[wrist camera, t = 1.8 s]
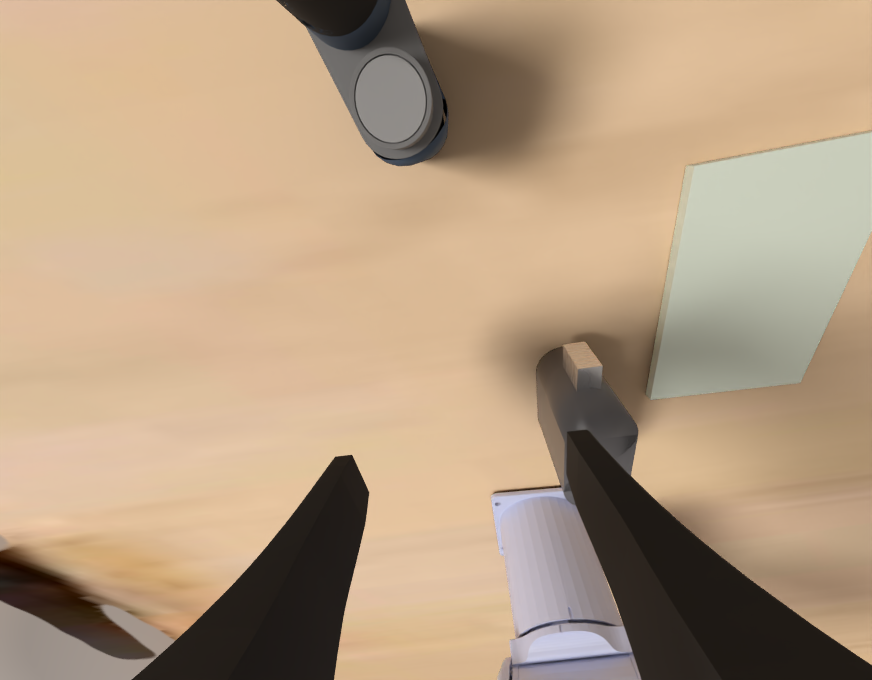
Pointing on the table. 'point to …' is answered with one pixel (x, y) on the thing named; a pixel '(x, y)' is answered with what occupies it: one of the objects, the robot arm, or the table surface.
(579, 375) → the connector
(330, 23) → the vaping device
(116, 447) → the table surface
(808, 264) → the board
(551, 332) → the table surface
